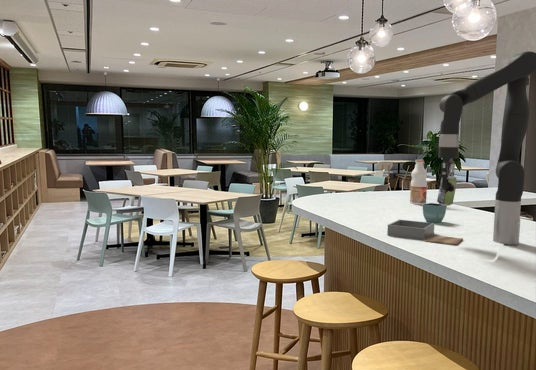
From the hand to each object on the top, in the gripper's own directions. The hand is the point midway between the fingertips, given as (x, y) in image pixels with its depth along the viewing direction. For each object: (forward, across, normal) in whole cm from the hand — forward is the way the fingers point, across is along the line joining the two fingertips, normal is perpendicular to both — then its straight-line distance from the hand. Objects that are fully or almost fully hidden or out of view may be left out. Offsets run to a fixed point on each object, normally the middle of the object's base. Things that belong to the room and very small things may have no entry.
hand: (446, 187), depth 192 cm
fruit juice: (+22, +91, +36) cm, 100 cm away
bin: (+22, +5, +15) cm, 27 cm away
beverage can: (+7, 0, 0) cm, 7 cm away
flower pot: (+22, +40, +14) cm, 48 cm away
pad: (+22, 0, 0) cm, 22 cm away
